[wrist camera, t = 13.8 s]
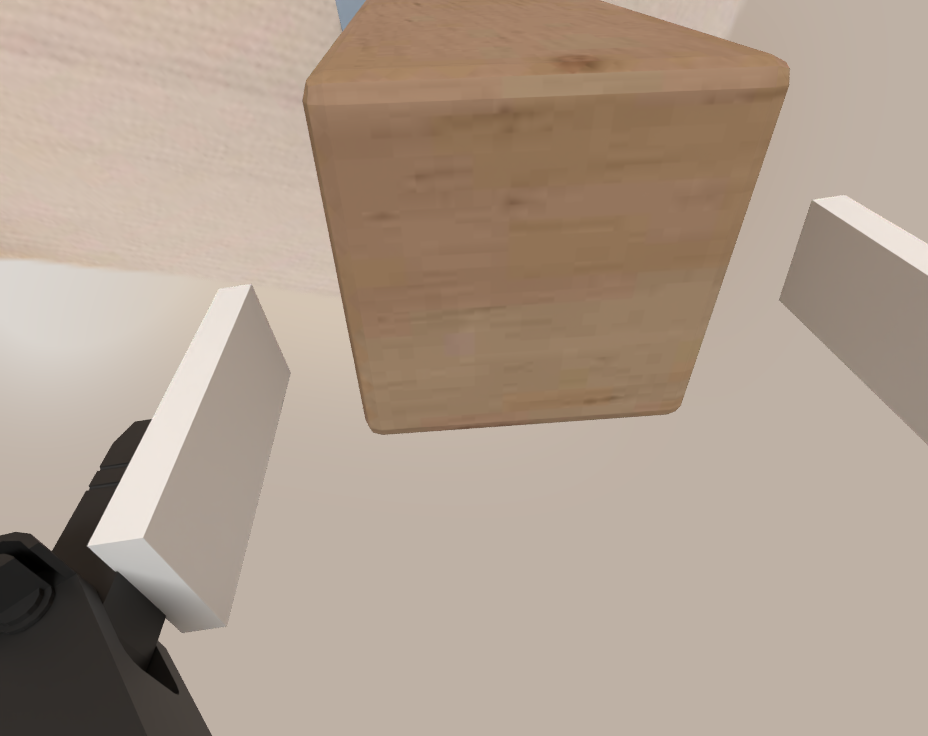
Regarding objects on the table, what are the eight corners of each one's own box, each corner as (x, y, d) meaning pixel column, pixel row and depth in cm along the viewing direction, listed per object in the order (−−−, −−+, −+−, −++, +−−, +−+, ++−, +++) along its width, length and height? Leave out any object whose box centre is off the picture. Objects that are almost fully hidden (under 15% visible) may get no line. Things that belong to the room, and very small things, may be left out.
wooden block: (364, -7, 25) (292, 77, 10) (569, -13, 26) (810, 58, 10) (388, 196, 31) (366, 442, 16) (551, 188, 32) (683, 419, 17)
